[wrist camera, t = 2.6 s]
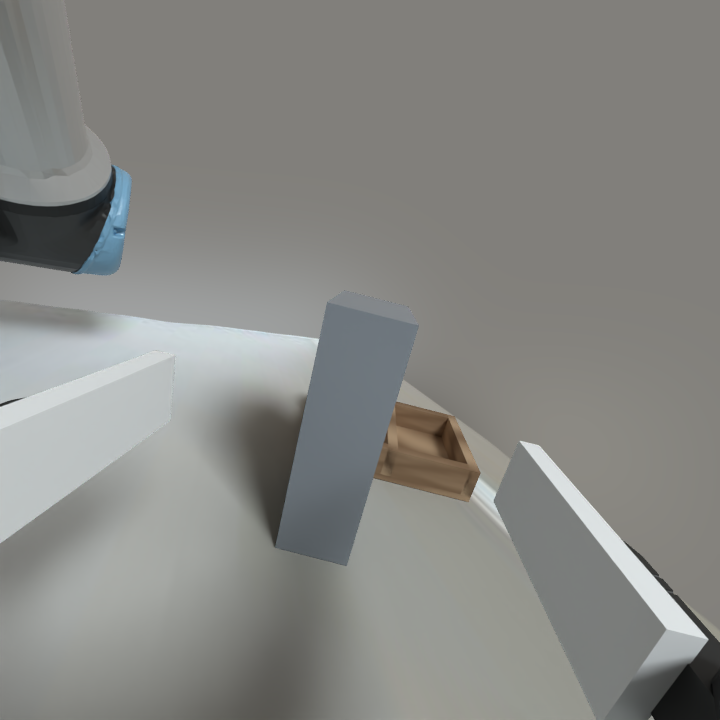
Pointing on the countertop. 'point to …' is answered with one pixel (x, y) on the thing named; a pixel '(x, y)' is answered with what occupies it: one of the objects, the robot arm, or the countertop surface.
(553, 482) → the robot arm
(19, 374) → the countertop surface
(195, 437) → the countertop surface
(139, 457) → the countertop surface
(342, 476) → the block
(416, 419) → the divided wooden tray
